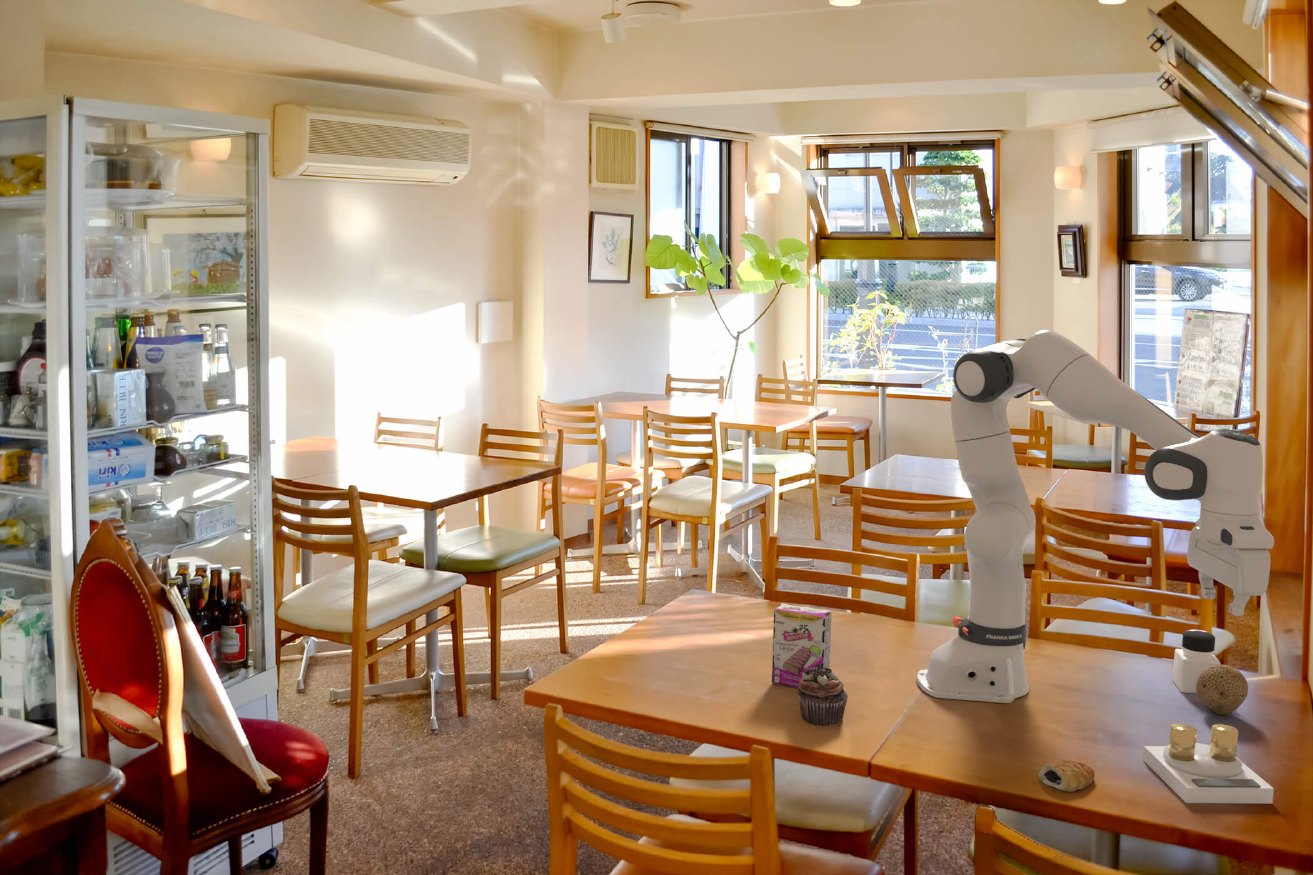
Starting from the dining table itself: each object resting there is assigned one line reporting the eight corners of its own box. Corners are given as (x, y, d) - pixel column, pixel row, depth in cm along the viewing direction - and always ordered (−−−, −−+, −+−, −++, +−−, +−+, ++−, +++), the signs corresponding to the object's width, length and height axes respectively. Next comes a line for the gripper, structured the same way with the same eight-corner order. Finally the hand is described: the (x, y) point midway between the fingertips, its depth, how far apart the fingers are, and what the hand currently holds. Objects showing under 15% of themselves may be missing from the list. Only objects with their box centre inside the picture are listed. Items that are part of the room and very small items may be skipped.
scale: (1185, 802, 179) (1187, 781, 178) (1142, 760, 194) (1144, 740, 194) (1272, 803, 179) (1274, 782, 178) (1222, 760, 194) (1224, 741, 194)
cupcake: (835, 731, 206) (837, 680, 204) (788, 720, 211) (789, 670, 209) (855, 714, 214) (856, 665, 212) (809, 704, 219) (810, 656, 217)
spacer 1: (1198, 761, 186) (1201, 733, 185) (1175, 761, 186) (1177, 733, 185) (1187, 751, 190) (1189, 723, 189) (1164, 751, 190) (1166, 723, 189)
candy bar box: (770, 685, 229) (772, 608, 227) (778, 677, 234) (780, 602, 231) (823, 693, 224) (825, 616, 222) (829, 685, 229) (832, 609, 227)
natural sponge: (1222, 726, 209) (1226, 676, 208) (1183, 709, 217) (1187, 661, 216) (1255, 719, 213) (1260, 669, 211) (1216, 702, 221) (1220, 654, 220)
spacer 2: (1240, 761, 186) (1243, 733, 185) (1216, 761, 186) (1219, 733, 185) (1228, 751, 189) (1230, 724, 189) (1205, 751, 189) (1207, 724, 189)
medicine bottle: (1218, 695, 225) (1223, 639, 223) (1180, 692, 226) (1185, 636, 224) (1208, 683, 232) (1212, 628, 230) (1172, 680, 233) (1176, 625, 231)
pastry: (1072, 768, 191) (1074, 748, 191) (1105, 784, 185) (1107, 763, 185) (1034, 780, 187) (1036, 759, 186) (1067, 797, 181) (1068, 775, 180)
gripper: (1180, 513, 195) (1174, 588, 197) (1240, 540, 175) (1233, 624, 177) (1216, 513, 195) (1209, 589, 197) (1280, 541, 175) (1272, 624, 177)
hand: (1221, 606), depth 187 cm, fingers open, 8 cm apart
